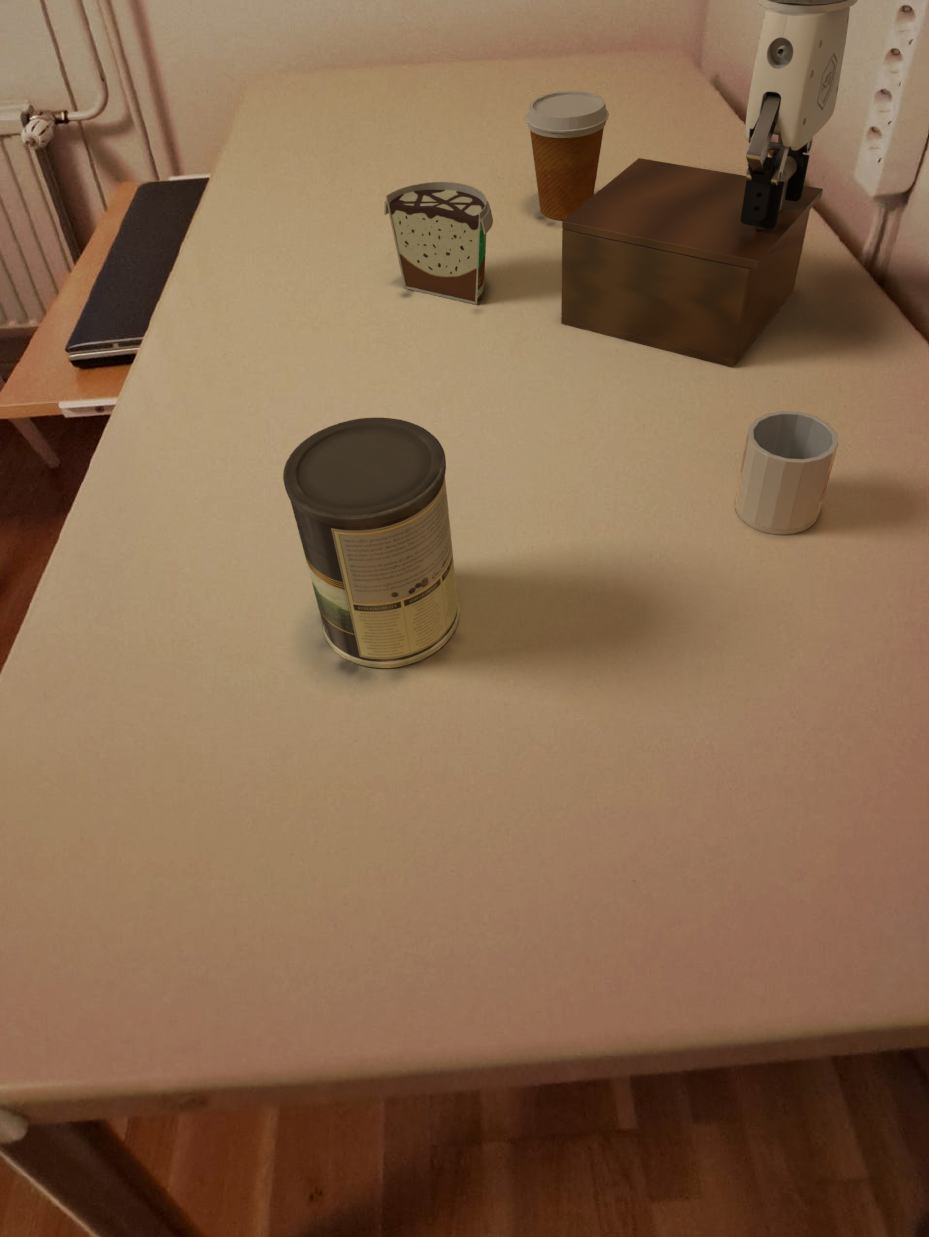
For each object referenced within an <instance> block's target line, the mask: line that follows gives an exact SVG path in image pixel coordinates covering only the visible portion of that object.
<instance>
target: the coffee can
mask: <svg viewBox="0 0 929 1237" xmlns="http://www.w3.org/2000/svg"><path fill="white" fill-rule="evenodd" d="M446 471H447V460H446V453H445V450H444V448H443V446H442V443H440V440H438V439H437V438H436V436H435V435H434V434H432V433H431V432H430V431H429V430H427V429H426V428H424V427H422V426H420V425H418V424H415V423H413V422H411V421H408V420H404V419H398V418H390V417H361V418H356V419H349V420H347V421H342V422H338V423H336V424H333V425H330V426H328V427H325V428H323V429H321V430H317V432H315V433H313V434H311V435H309V436H308V437H306V438H305V439H304V440H303V441H302V442H300V443H299V444H298V446H296V447H295V449H293V451H292V452H291V453H290V455H289V457H288V458H287V460H286V462H285V465H284V467H283V472H282V479H283V480H282V481H283V485H284V488H285V492H286V494H287V497H288V499H289V501H290V505H291V509H292V513H293V516H294V519H295V522H296V527H297V530H298V536H299V539H300V543H301V545H302V549H303V553H304V557H305V560H306V565H307V569H308V572H309V577H310V580H311V584H312V588H313V592H314V596H315V599H316V604H317V608H318V610H319V615H320V619H321V623H322V625H321V626H322V632H323V635H324V637H325V640H326V642H327V643H328V645H329V646H330V647H331V649H332V650H333V651H334V652H336V654H338V655H339V656H341V658H343V659H345V660H347V661H349V662H351V663H353V664H356V665H360V666H363V667H366V668H375V669H390V668H391V669H392V668H398V667H400V668H401V667H403V666H408V665H412V664H414V663H418V662H420V661H423V660H425V659H426V658H428V657H430V656H432V655H433V654H435V653H436V652H438V651H439V650H440V649H441V648H443V646H444V645H446V643H447V642H448V641H449V640H450V638H451V637H452V636H453V634H454V632H455V630H456V629H457V627H458V624H459V621H460V602H459V600H458V592H457V591H458V590H457V583H456V582H457V581H456V573H455V563H454V553H453V552H454V551H453V542H452V532H451V522H450V521H451V520H450V513H449V502H448V492H447V484H446Z"/></svg>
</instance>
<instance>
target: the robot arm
mask: <svg viewBox="0 0 929 1237" xmlns="http://www.w3.org/2000/svg"><path fill="white" fill-rule="evenodd" d="M757 2H758V4H759V5H760V6H761V7H764V8H765V13H764V16H763V21H762V26H761V30H760V36H759V38H758V40H759V41H758V45H757V50H756V55H755V60H754V66H753V70H752V77H751V82H750V89H749V95H748V100H747V106H746V107H747V109H746V114H745V115H746V116H745V125H744V137H745V139H746V141H747V142H748V144H749V145H748V147H747V151H746V154H745V160H746V161H747V170H746V175H745V176H746V186H745V193H744V200H743V206H742V213H741V222H742V223H743V224H746V225H751V226H756V227H762V228H767V229H773V228H774V227H775V226H776V225H777V222H778V216H779V211H780V205H781V199H782V194H783V188H784V182H783V181H780V180H781V177H782V173H783V169H784V166H785V162H786V158H787V156H790V157H792V158H794V159H795V161H796V163H797V170H796V172H795V173H794V174H793V175H792V177H791V178H790V179H789V180H788V184H787V190H786V195H785V200H790V201H798V200H799V199H800V198H801V197H802V192H803V187H804V186H805V182H806V176H807V171H808V166H809V162H810V161H809V160H810V154H809V153H810V151H811V149H812V145H813V138H814V137H815V136H816V135H817V134H818V133H819V131H821V130H822V129H823V128H824V126H825V125H826V124H827V123H828V122H829V121H830V119H831V118H832V116H833V115H834V111H835V108H836V103H837V97H838V92H839V86H840V81H841V80H840V79H841V73H842V67H843V62H844V56H845V49H846V44H847V43H846V42H847V35H848V29H849V21H850V12H851V7H853V6H854V5H855V4H857V2H858V0H757ZM773 135H777V141H771V140H772V137H773ZM769 151H772V155H771V156H769ZM774 165H775V166H774Z"/></svg>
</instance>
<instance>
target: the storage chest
mask: <svg viewBox="0 0 929 1237" xmlns="http://www.w3.org/2000/svg"><path fill="white" fill-rule="evenodd" d="M810 212H811V209H810V210H809V211H808V213H807V214H806V215H805V216H804V217H803V218H802V220H801V221H800V222H799V223H798V224H797V225H796V227H795V228H794V229H793V230H792V231H791V232H790V234H789V235H788V236H787V237H786V238H785V239H784V240H783V242H782V243H781V244H780V245H779V246H778V247H777V249H776V250H775V251H774V252H773V253H772V254H771V256H770V257H769V258H768V259H767V260H766V261H765V263H764V264H763V265H762V266H761V267H760V268H759V269H758V270H756V269H751V268H746V267H741V266H737V265H732V264H727V263H722V262H717V261H713V260H708V259H703V258H698V257H694V256H689V255H684V254H679V253H674V252H670V251H665V250H660V249H655V248H651V247H646V246H641V245H636V244H631V243H627V242H622V241H617V240H612V239H607V238H603V237H598V236H593V235H588V234H584V233H579V232H574V231H569V230H564V229H562V230H561V238H562V239H561V312H560V313H561V316H560V317H561V318H560V323H561V324H563V325H567V326H570V327H574V328H578V329H582V330H586V331H590V332H594V333H597V334H601V335H605V336H609V337H613V338H617V339H621V340H624V341H628V342H633V343H636V344H640V345H643V346H649V347H652V348H655V349H660V350H664V351H667V352H671V353H676V354H679V355H684V356H688V357H691V358H695V359H698V360H702V361H706V362H711V363H713V364H717V365H723V366H725V367H726V366H727V367H730V368H734V367H735V366H736V365H737V364H738V362H739V361H740V359H741V358H742V357H743V356H744V354H745V353H746V352H747V351H748V350H749V348H750V347H751V346H752V345H753V343H754V342H755V341H756V340H757V338H758V337H759V336H760V334H761V333H762V332H763V331H764V329H765V328H766V327H767V326H768V325H769V323H770V322H771V320H772V319H773V318H774V316H776V314H777V313H778V311H779V310H780V309H781V308H782V306H783V305H784V304H785V303H786V301H788V299H789V297H790V296H791V295H792V294H793V293H794V291H795V288H796V282H797V277H798V273H799V268H800V263H801V257H802V253H803V248H804V243H805V238H806V233H807V226H808V222H809V217H810Z"/></svg>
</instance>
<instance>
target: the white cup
mask: <svg viewBox="0 0 929 1237" xmlns="http://www.w3.org/2000/svg"><path fill="white" fill-rule="evenodd" d="M838 447H839V438H838V433H837V431H836V430H835V429H834V427H832V425H831V424H830V423H828V422H827V421H825V420H824V419H821V418H820V417H818V416H816V415H813V414H809V413H805V412H802V411H795V410H794V411H790V410H780V411H775V412H769V413H765V414H763V415H761V416H760V417H758V418H756V419H754V420H753V422H752V423H751V424H750V426H748V428H747V434H746V439H745V444H744V450H743V456H742V460H741V466H740V472H739V475H738V476H739V478H738V482H737V487H736V493H735V503H734V507H735V511H736V513H737V515H738V517H739V518H740V519H741V521H743V522H744V524H746V525H748V526H749V527H751V528H753V529H755V530H757V531H760V532H763V533H766V534H771V535H779V536H781V535H794V534H797V533H801V532H804V531H806V530H808V529H809V528H811V527H812V526H813V525H814V524H815V523H816V522H817V520H818V518H819V514H820V512H821V510H822V506H823V502H824V498H825V495H826V491H827V487H828V484H829V480H830V476H831V472H832V469H833V465H834V461H835V457H836V454H837V451H838Z"/></svg>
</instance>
